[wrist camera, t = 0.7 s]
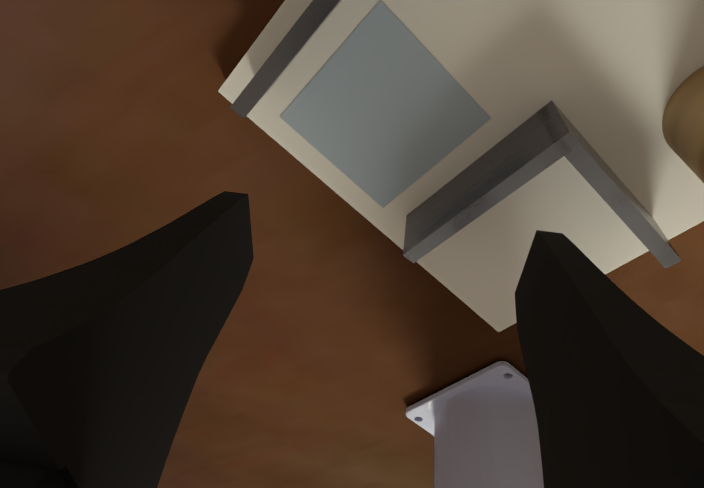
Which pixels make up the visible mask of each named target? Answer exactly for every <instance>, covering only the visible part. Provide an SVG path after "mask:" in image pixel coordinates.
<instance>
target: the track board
mask: <svg viewBox="0 0 704 488" xmlns="http://www.w3.org/2000/svg"><path fill="white" fill-rule="evenodd" d="M312 1H313V0H285V1H284V2H283V4H282V5H281V6H280V8H279V9H278V10H277V12H276V13H275V15H274V16H273V17H272V19H271V20H270V21H269V23H268V24H267V25H266V27H265V28H264V29H263V31H262V32H261V34H260V35H259V36H258V38H257V39H256V40H255V42H254V43H253V44H252V46H251V47H250V48H249V50H248V51H247V52H246V54H245V55H244V57H243V58H242V59H241V61H240V62H239V63H238V65H237V66H236V67H235V69H234V70H233V71H232V73H231V74H230V76H229V77H228V78H227V80H226V81H225V82H224V84H223V85H222V86H221V88H220V89H219V90H218V92H219V93H220V94H222V95H223V96H224V97H225V98H226V99H227V100H229V101H230V102H231V103H232V104H233V103H234V101H235V100H236V99H237V97H238V96H239V95H240V94H241V92H242V91H243V90H244V88H245V87H246V86H247V85H248V83H249V82H250V81H251V79H252V78H253V77H254V75H255V74H256V73H257V72H258V70H259V69H260V68H261V66H262V65H263V64H264V63H265V61H266V60H267V59H268V57H269V56H270V55H271V54H272V52H273V51H274V50H275V48H276V47H277V46H278V44H279V43H280V42H281V41H282V39H283V38H284V37H285V35H286V34H287V33H288V32H289V30H290V29H291V28H292V26H293V25H294V24H295V23H296V21H297V20H298V19H299V17H300V16H301V15H302V13H303V12H304V11H305V10H306V8H307V7H308V6H309V4H310V3H311V2H312ZM702 66H704V0H342V1H341V2H340V3H339V4H338V6H337V7H336V8H335V9H334V11H333V12H332V13H331V14H330V15H329V17H328V18H327V19H326V20H325V22H324V23H323V24H322V25H321V27H320V28H319V29H318V30H317V31H316V33H315V34H314V35H313V36H312V38H311V39H310V40H309V41H308V43H307V44H306V45H305V46H304V47H303V49H302V50H301V51H300V52H299V54H298V55H297V56H296V57H295V59H294V60H293V61H292V62H291V63H290V65H289V66H288V67H287V68H286V70H285V71H284V72H283V73H282V74H281V76H280V77H279V78H278V79H277V81H276V82H275V83H274V84H273V86H272V87H271V88H270V89H269V90H268V92H267V93H266V94H265V95H264V96H263V97H262V99H261V100H260V101H259V102H258V103H257V104H256V106H255V107H254V108H253V109H252V110H251V111H250V112H249V114H248V115H247V117H248V118H250V119H251V120H252V121H253V122H254V123H255V124H257V125H258V126H259V127H260V128H261V129H262V130H264V131H265V132H266V133H267V134H268V135H269V136H270V137H272V138H273V139H274V140H275V141H276V142H277V143H279V144H280V145H281V146H282V147H283V148H284V149H286V150H287V151H288V152H289V153H290V154H291V155H293V156H294V157H295V158H296V159H297V160H298V161H300V162H301V163H302V164H303V165H304V166H305V167H307V168H308V169H309V170H310V171H311V172H312V173H314V174H315V175H316V176H317V177H318V178H319V179H321V180H322V181H323V182H324V183H325V184H326V185H328V186H329V187H330V188H331V189H332V190H333V191H335V192H336V193H337V194H338V195H339V196H340V197H342V198H343V199H344V200H345V201H346V202H347V203H348V204H350V205H351V206H352V207H353V208H354V209H355V210H357V211H358V212H359V213H360V214H361V215H362V216H364V217H365V218H366V219H367V220H368V221H369V222H371V223H372V224H373V225H374V226H375V227H376V228H378V229H379V230H380V231H381V232H382V233H383V234H385V235H386V236H387V237H388V238H389V239H390V240H392V241H393V242H394V243H395V244H396V245H397V246H399V247H400V248H401V249H402V250H403V248H404V237H405V226H406V216H407V214H409V213H410V212H411V211H413V210H414V209H415V208H416V207H418V206H419V205H420V204H421V203H423V202H424V201H425V200H426V199H428V198H429V197H430V196H431V195H433V194H434V193H435V192H437V191H438V190H439V189H440V188H442V187H443V186H444V185H445V184H447V183H448V182H449V181H450V180H452V179H453V178H454V177H455V176H457V175H458V174H459V173H460V172H462V171H463V170H464V169H466V168H467V167H468V166H469V165H471V164H472V163H473V162H474V161H476V160H477V159H478V158H479V157H481V156H482V155H483V154H484V153H486V152H487V151H488V150H490V149H491V148H492V147H493V146H495V145H496V144H497V143H498V142H500V141H501V140H502V139H503V138H505V137H506V136H507V135H508V134H510V133H511V132H512V131H513V130H515V129H516V128H517V127H519V126H520V125H521V124H522V123H524V122H525V121H526V120H527V119H529V118H530V117H531V116H532V115H534V114H535V113H536V112H537V111H539V110H540V109H541V108H543V107H544V106H545V105H546V104H548V103H549V102H550V101H551V100H552V101H553V102H554V103H555V105H556V106H557V107H558V108H559V109H560V110H561V111H562V113H563V114H564V115H565V116H566V117H567V118H568V120H569V121H570V122H571V123H572V124H573V125H574V127H575V128H576V129H577V130H578V131H579V132H580V134H581V135H582V136H583V137H584V138H585V139H586V140H587V142H588V143H589V144H590V145H591V146H592V147H593V149H594V150H595V151H596V152H597V153H598V154H599V156H600V157H601V158H602V159H603V160H604V161H605V162H606V164H607V165H608V166H609V167H610V168H611V169H612V171H613V172H614V173H615V174H616V175H617V176H618V178H619V179H620V180H621V181H622V182H623V183H624V184H625V186H626V187H627V188H628V189H629V190H630V191H631V193H632V194H633V195H634V196H635V197H636V198H637V200H638V201H639V202H640V203H641V204H642V205H643V207H644V208H645V209H646V210H647V211H648V212H649V213H650V215H651V216H652V217H653V218H654V220H655V221H656V223H657V224H658V226H659V227H660V229H661V230H662V232H663V233H664V235H665V236H666V238H667V239H668V240H669V239H671V238H673V237H675V236H677V235H679V234H680V233H682V232H684V231H686V230H688V229H690V228H691V227H693V226H695V225H697V224H699V223H701V222H702V221H704V183H703V182H702V181H701V180H700V179H699V178H698V177H697V176H696V174H695V173H694V172H693V171H692V170H691V169H690V168H689V167H688V166H687V165H686V164H685V163H684V162H683V161H682V159H681V158H680V157H679V156H678V155H677V154H676V153H675V152H674V151H673V150H672V149H671V148H670V147H669V145H668V144H667V142H666V141H665V138H664V136H663V131H662V119H663V114H664V110H665V108H666V105H667V103H668V101H669V99H670V98H671V96H672V94H673V93H674V92H675V90H676V89H677V88H678V87H679V85H680V84H681V83H682V82H683V81H684V80H685V79H686V78H687V77H688V76H690V75H691V74H692V73H693V72H695V71H696V70H698V69H699V68H701V67H702ZM536 230H539V231H547V232H555V233H563V234H564V235H565V236H566V237H567V238H568V239H569V240H570V241H571V242H573V243H574V244H575V245H576V246H577V247H578V248H579V249H580V250H581V251H582V252H583V253H584V254H585V255H586V256H587V257H588V258H589V259H590V260H591V261H592V262H593V263H594V264H595V265H596V266H597V267H598V268H599V269H600V270H601V271H602V272H603V273H604V274H607V273H609V272H611V271H612V270H614V269H616V268H618V267H620V266H622V265H623V264H625V263H627V262H629V261H631V260H633V259H634V258H636V257H638V256H640V255H642V254H644V253H646V252H647V251H649V250H648V249H647V248H646V246H645V245H644V244H643V243H642V242H641V241H640V240H639V239H638V238H637V236H636V235H635V234H634V233H633V232H632V231H631V230H630V229H629V228H628V226H627V225H626V224H625V223H624V222H623V221H622V220H621V219H620V218H619V216H618V215H617V214H616V213H615V212H614V211H613V210H612V209H611V207H610V206H609V205H608V204H607V203H606V202H605V201H604V200H603V199H602V197H601V196H600V195H599V194H598V193H597V192H596V191H595V190H594V189H593V187H592V186H591V185H590V184H589V183H588V182H587V181H586V180H585V179H584V177H583V176H582V175H581V174H580V173H579V172H578V171H577V170H576V169H575V167H574V166H573V165H572V164H571V163H570V162H569V161H568V160H567V158H566V157H565V156H563V157H562V158H561V159H559V160H558V161H556V162H555V163H554V164H552V165H551V166H549V167H548V168H546V169H545V170H544V171H542V172H541V173H539V174H538V175H537V176H535V177H534V178H532V179H531V180H530V181H528V182H527V183H525V184H524V185H523V186H521V187H520V188H518V189H517V190H516V191H514V192H513V193H511V194H510V195H509V196H507V197H506V198H504V199H503V200H502V201H500V202H499V203H497V204H496V205H495V206H493V207H492V208H490V209H489V210H488V211H486V212H485V213H483V214H482V215H481V216H479V217H478V218H476V219H475V220H474V221H472V222H471V223H469V224H468V225H467V226H465V227H464V228H462V229H461V230H460V231H458V232H457V233H455V234H454V235H453V236H451V237H450V238H448V239H447V240H446V241H444V242H443V243H441V244H440V245H439V246H437V247H436V248H434V249H433V250H432V251H430V252H429V253H427V254H426V255H425V256H423V257H422V258H420V259H419V260H418V261H416V262H417V263H418V264H420V265H421V266H422V267H423V268H424V269H425V270H427V271H428V272H429V273H430V274H431V275H432V276H433V277H435V278H436V279H437V280H438V281H439V282H440V283H442V284H443V285H444V286H445V287H446V288H447V289H449V290H450V291H451V292H452V293H453V294H454V295H456V296H457V297H458V298H459V299H460V300H461V301H463V302H464V303H465V304H466V305H467V306H468V307H470V308H471V309H472V310H473V311H474V312H475V313H477V314H478V315H479V316H480V317H481V318H482V319H484V320H485V321H486V322H487V323H488V324H489V325H491V326H492V327H493V328H494V329H495V330H496V331H498V332H500V331H502V330H504V329H506V328H508V327H510V326H511V325H513V324H515V323H517V321H516V308H515V291H516V288H517V285H518V282H519V279H520V276H521V274H522V271H523V268H524V265H525V262H526V259H527V256H528V253H529V250H530V248H531V245H532V242H533V239H534V236H535V233H536Z"/></svg>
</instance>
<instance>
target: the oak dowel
mask: <svg viewBox="0 0 704 488" xmlns="http://www.w3.org/2000/svg"><path fill="white" fill-rule="evenodd" d="M662 131H663V136H664V138H665V141H666V142H667V144H668V145H669V147H670V148H671V149H672V150H673V151H674V152H675V153H676V154H677V155H678V156H679V157H680V158H681V159H682V161H683V162H684V163H685V164H686V165H687V166H688V167H689V168H690V169H691V170H692V171H693V172H694V173H695V174H696V176H697V177H698V178H699V179H700V180H701V181H702V182H703V183H704V66H702V67H701V68H699V69H698V70H696V71H695V72H693V73H692V74H691V75H690V76H688V77H687V78H686V79H685V80H684V81H683V82H682V83H681V84H680V85H679V87H678V88H677V89H676V90H675V92H674V93H673V94H672V96H671V98H670V99H669V101H668V103H667V105H666V108H665V110H664V114H663V119H662Z"/></svg>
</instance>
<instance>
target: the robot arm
mask: <svg viewBox="0 0 704 488" xmlns="http://www.w3.org/2000/svg"><path fill="white" fill-rule="evenodd" d="M252 261H253V246H252V234H251V223H250V211H249V199H248V194H242V193H234V192H226V191H225V192H223V193H221V194H219V195H217V196H215V197H213V198H212V199H210V200H208V201H206V202H205V203H203V204H201V205H200V206H198V207H196V208H195V209H193V210H191V211H189V212H188V213H186V214H184V215H183V216H181V217H179V218H177V219H176V220H174V221H172V222H171V223H169V224H167V225H165V226H164V227H162V228H160V229H158V230H156V231H154V232H152V233H150V234H148V235H146V236H144V237H143V238H141V239H139V240H137V241H135V242H133V243H131V244H129V245H127V246H125V247H123V248H120V249H118V250H116V251H114V252H112V253H109V254H107V255H104V256H102V257H100V258H97V259H95V260H92V261H90V262H87V263H85V264H82V265H79V266H76V267H73V268H71V269H68V270H65V271H62V272H59V273H56V274H53V275H50V276H47V277H44V278H41V279H38V280H35V281H31V282H28V283H24V284H21V285H17V286H14V287H10V288H6V289H2V290H0V488H157V486H158V483H159V480H160V477H161V474H162V471H163V468H164V465H165V462H166V459H167V456H168V454H169V451H170V448H171V445H172V442H173V439H174V437H175V434H176V431H177V428H178V426H179V423H180V420H181V418H182V415H183V412H184V410H185V407H186V404H187V402H188V399H189V397H190V394H191V392H192V389H193V387H194V384H195V382H196V379H197V377H198V374H199V372H200V370H201V368H202V365H203V363H204V361H205V359H206V357H207V355H208V353H209V351H210V350H211V348H212V346H213V344H214V342H215V340H216V338H217V336H218V335H219V333H220V331H221V329H222V327H223V325H224V323H225V321H226V320H227V318H228V316H229V314H230V312H231V310H232V308H233V306H234V304H235V303H236V301H237V299H238V297H239V295H240V293H241V291H242V289H243V286H244V283H245V281H246V278H247V275H248V272H249V269H250V266H251V264H252ZM515 308H516V321H517V330H518V335H519V340H520V345H521V349H522V354H523V358H524V363H525V367H526V372H527V376H528V379H527V378H526V377H525V376H524V375H523V374H521V373H520V372H519V371H518V370H517V369H515V368H514V367H513V366H512V365H511V364H509V363H508V362H506V361H498V362H496V363H494V364H492V365H490V366H488V367H486V368H484V369H482V370H480V371H478V372H476V373H474V374H472V375H470V376H468V377H466V378H464V379H462V380H460V381H458V382H456V383H454V384H452V385H450V386H448V387H447V388H445V389H443V390H441V391H439V392H437V393H435V394H433V395H431V396H429V397H427V398H425V399H423V400H421V401H419V402H417V403H415V404H413V405H411V406H409V407H407V408H406V416H407V417H408V418H409V419H411V420H412V421H413V422H415V423H416V424H418V425H419V426H421V427H422V428H423V429H425V430H426V431H428V432H429V433H430V434H432V435H433V436H434V488H704V356H703V355H701V354H700V353H699V352H697V351H696V350H694V349H693V348H691V347H690V346H689V345H687V344H686V343H685V342H683V341H682V340H681V339H679V338H678V337H677V336H675V335H674V334H673V333H671V332H670V331H669V330H667V329H666V328H665V327H663V326H662V325H661V324H660V323H658V322H657V321H656V320H655V319H653V318H652V317H651V316H650V315H649V314H648V313H646V312H645V311H644V310H643V309H642V308H641V307H639V306H638V305H637V304H636V303H635V302H634V301H633V300H631V299H630V298H629V297H628V296H627V295H626V294H625V293H624V292H623V291H622V290H620V289H619V288H618V287H617V286H616V285H615V284H614V283H613V282H612V281H611V280H610V279H609V278H608V277H607V276H606V275H605V274H604V273H603V272H602V271H601V270H600V269H599V268H598V267H597V266H596V265H595V264H594V263H593V262H592V261H591V260H590V259H589V258H588V257H587V256H586V255H585V254H584V253H583V252H582V251H581V250H580V249H579V248H578V247H577V246H576V245H575V244H574V243H573V242H571V241H570V240H569V239H568V238H567V237H566V236H565V235H564V234H563V233H555V232H547V231H539V230H536V233H535V236H534V239H533V242H532V245H531V248H530V250H529V253H528V256H527V259H526V262H525V265H524V268H523V271H522V274H521V276H520V279H519V282H518V285H517V288H516V291H515ZM506 373H508V374H506Z"/></svg>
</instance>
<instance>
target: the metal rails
mask: <svg viewBox="0 0 704 488" xmlns="http://www.w3.org/2000/svg"><path fill="white" fill-rule="evenodd" d="M341 1H342V0H313V1H312V2H311V3H310V4H309V6H308V7H307V8H306V10H305V11H304V12H303V13H302V15H301V16H300V17H299V19H298V20H297V21H296V23H295V24H294V25H293V26H292V28H291V29H290V30H289V32H288V33H287V34H286V35H285V37H284V38H283V39H282V41H281V42H280V43H279V44H278V46H277V47H276V48H275V50H274V51H273V52H272V54H271V55H270V56H269V57H268V59H267V60H266V61H265V63H264V64H263V65H262V66H261V68H260V69H259V70H258V72H257V73H256V74H255V75H254V77H253V78H252V79H251V81H250V82H249V83H248V85H247V86H246V87H245V88H244V90H243V91H242V92H241V94H240V95H239V96H238V97H237V99H236V100H235V101H234V103H233V104H232V105H231V106H230V108H232V109H233V110H234V111H235V112H236V113H237V114H239V115H240V116H241V117H242V118H243V119H244V118H245V117H246V116H247V115H248V114H249V112H250V111H251V110H252V109H253V108H254V107H255V106H256V104H257V103H258V102H259V101H260V100H261V99H262V97H263V96H264V95H265V94H266V93H267V92H268V90H269V89H270V88H271V87H272V86H273V84H274V83H275V82H276V81H277V79H278V78H279V77H280V76H281V74H282V73H283V72H284V71H285V70H286V68H287V67H288V66H289V65H290V63H291V62H292V61H293V60H294V59H295V57H296V56H297V55H298V54H299V52H300V51H301V50H302V49H303V47H304V46H305V45H306V44H307V43H308V41H309V40H310V39H311V38H312V36H313V35H314V34H315V33H316V31H317V30H318V29H319V28H320V27H321V25H322V24H323V23H324V22H325V20H326V19H327V18H328V17H329V15H330V14H331V13H332V12H333V11H334V9H335V8H336V7H337V6H338V4H339V3H340V2H341ZM563 156H565V157H566V158H567V160H568V161H569V162H570V163H571V164H572V165H573V166H574V167H575V169H576V170H577V171H578V172H579V173H580V174H581V175H582V176H583V177H584V179H585V180H586V181H587V182H588V183H589V184H590V185H591V186H592V187H593V189H594V190H595V191H596V192H597V193H598V194H599V195H600V196H601V197H602V199H603V200H604V201H605V202H606V203H607V204H608V205H609V206H610V207H611V209H612V210H613V211H614V212H615V213H616V214H617V215H618V216H619V218H620V219H621V220H622V221H623V222H624V223H625V224H626V225H627V226H628V228H629V229H630V230H631V231H632V232H633V233H634V234H635V235H636V236H637V238H638V239H639V240H640V241H641V242H642V243H643V244H644V245H645V246H646V248H647V249H648V250H649V251H650V252H651V253H652V254H653V255H654V256H655V258H656V259H657V260H658V261H659V262H660V263H661V264H662V265H663V267H664V268H665V269H666V268H668V267H670V266H672V265H674V264H676V263H678V262H680V261H682V260H681V258H680V257H679V255H678V254H677V253H676V251H675V250H674V248H673V247H672V245H671V244H670V242H669V241H668V239H667V238H666V236H665V235H664V233H663V232H662V230H661V229H660V227H659V226H658V224H657V223H656V221H655V220H654V218H653V217H652V216H651V215H650V213H649V212H648V211H647V210H646V209H645V208H644V207H643V205H642V204H641V203H640V202H639V201H638V200H637V198H636V197H635V196H634V195H633V194H632V193H631V191H630V190H629V189H628V188H627V187H626V186H625V184H624V183H623V182H622V181H621V180H620V179H619V178H618V176H617V175H616V174H615V173H614V172H613V171H612V169H611V168H610V167H609V166H608V165H607V164H606V162H605V161H604V160H603V159H602V158H601V157H600V156H599V154H598V153H597V152H596V151H595V150H594V149H593V147H592V146H591V145H590V144H589V143H588V142H587V140H586V139H585V138H584V137H583V136H582V135H581V134H580V132H579V131H578V130H577V129H576V128H575V127H574V125H573V124H572V123H571V122H570V121H569V120H568V118H567V117H566V116H565V115H564V114H563V113H562V111H561V110H560V109H559V108H558V107H557V106H556V105H555V103H554V102H553V101H552V100H551V101H550V102H549V103H548V104H546V105H545V106H544V107H543V108H541V109H540V110H539V111H537V112H536V113H535V114H534V115H532V116H531V117H530V118H529V119H527V120H526V121H525V122H524V123H522V124H521V125H520V126H519V127H517V128H516V129H515V130H513V131H512V132H511V133H510V134H508V135H507V136H506V137H505V138H503V139H502V140H501V141H500V142H498V143H497V144H496V145H495V146H493V147H492V148H491V149H490V150H488V151H487V152H486V153H484V154H483V155H482V156H481V157H479V158H478V159H477V160H476V161H474V162H473V163H472V164H471V165H469V166H468V167H467V168H466V169H464V170H463V171H462V172H460V173H459V174H458V175H457V176H455V177H454V178H453V179H452V180H450V181H449V182H448V183H447V184H445V185H444V186H443V187H442V188H440V189H439V190H438V191H437V192H435V193H434V194H433V195H431V196H430V197H429V198H428V199H426V200H425V201H424V202H423V203H421V204H420V205H419V206H418V207H416V208H415V209H414V210H413V211H411V212H410V213H409V214H407V216H406V226H405V237H404V248H403V255H404V256H405V257H406V258H407V259H408V260H409V261H411V262H412V263H415V262H416V261H418V260H419V259H420V258H422V257H423V256H425V255H426V254H427V253H429V252H430V251H432V250H433V249H434V248H436V247H437V246H439V245H440V244H441V243H443V242H444V241H446V240H447V239H448V238H450V237H451V236H453V235H454V234H455V233H457V232H458V231H460V230H461V229H462V228H464V227H465V226H467V225H468V224H469V223H471V222H472V221H474V220H475V219H476V218H478V217H479V216H481V215H482V214H483V213H485V212H486V211H488V210H489V209H490V208H492V207H493V206H495V205H496V204H497V203H499V202H500V201H502V200H503V199H504V198H506V197H507V196H509V195H510V194H511V193H513V192H514V191H516V190H517V189H518V188H520V187H521V186H523V185H524V184H525V183H527V182H528V181H530V180H531V179H532V178H534V177H535V176H537V175H538V174H539V173H541V172H542V171H544V170H545V169H546V168H548V167H549V166H551V165H552V164H554V163H555V162H556V161H558V160H559V159H561V158H562V157H563Z"/></svg>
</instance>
